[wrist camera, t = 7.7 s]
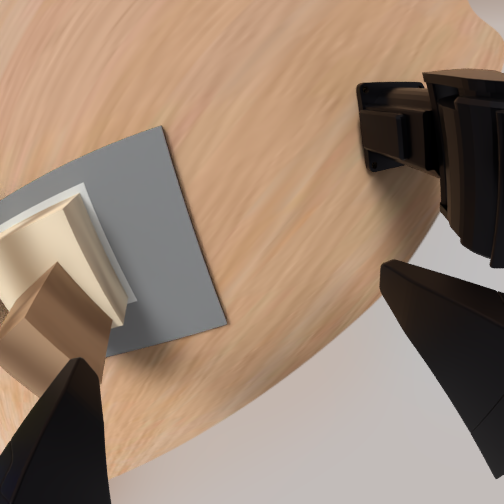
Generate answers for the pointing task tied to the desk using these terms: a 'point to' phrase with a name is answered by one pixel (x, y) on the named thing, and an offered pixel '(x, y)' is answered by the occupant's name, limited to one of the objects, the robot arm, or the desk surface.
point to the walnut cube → (52, 331)
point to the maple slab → (60, 256)
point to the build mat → (135, 236)
